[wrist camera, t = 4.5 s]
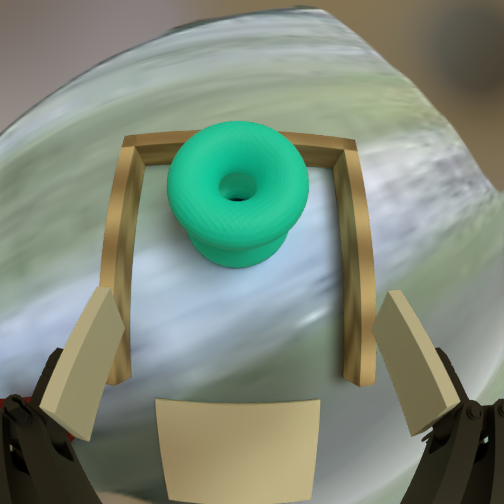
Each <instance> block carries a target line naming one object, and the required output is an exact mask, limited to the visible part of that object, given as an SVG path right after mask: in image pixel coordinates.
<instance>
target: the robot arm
mask: <svg viewBox="0 0 504 504" xmlns="http://www.w3.org/2000/svg"><path fill="white" fill-rule="evenodd" d="M124 330H125V326H124V324H123V321H122V319H121V316H120V313H119V311H118V308H117V305H116V302H115V299H114V297H113V294H112V291H111V288H107V287H97V288H96V290H95V291H94V293H93V295H92V296H91V298H90V300H89V302H88V303H87V305H86V307H85V309H84V311H83V312H82V314H81V316H80V318H79V320H78V322H77V324H76V326H75V327H74V329H73V331H72V333H71V335H70V337H69V339H68V341H67V343H66V345H65V347H64V349H61V348H57V349H56V350H55V351H54V352H53V353H52V354H51V355H50V356H49V358H48V361H47V363H46V365H45V367H44V369H43V371H42V375H41V376H40V378H39V380H38V383H37V385H36V388H35V390H34V392H33V395H32V397H31V400H30V402H29V404H28V403H27V402H26V401H25V400H24V399H23V398H22V397H21V396H20V395H17V394H13V395H10V396H8V397H7V398H6V399H5V401H4V402H3V406H2V409H1V408H0V504H102V502H101V501H100V499H99V498H98V496H97V494H96V492H95V491H94V489H93V487H92V486H91V484H90V482H89V480H88V478H87V476H86V474H85V473H84V471H83V469H82V467H81V465H80V463H79V460H78V458H77V456H76V454H75V452H74V450H73V447H72V445H71V443H70V440H69V439H68V437H67V433H68V432H69V433H70V434H72V435H73V436H74V437H76V438H79V439H82V440H85V441H88V442H89V441H90V437H91V433H92V429H93V425H94V422H95V418H96V414H97V411H98V407H99V404H100V400H101V397H102V394H103V390H104V387H105V384H106V381H107V378H108V375H109V372H110V369H111V366H112V363H113V360H114V357H115V354H116V351H117V349H118V346H119V343H120V340H121V338H122V335H123V332H124ZM371 331H372V333H373V335H374V338H375V340H376V342H377V345H378V347H379V349H380V352H381V354H382V357H383V359H384V362H385V364H386V367H387V369H388V372H389V374H390V377H391V380H392V382H393V385H394V387H395V390H396V393H397V396H398V398H399V401H400V404H401V407H402V410H403V413H404V416H405V419H406V422H407V425H408V428H409V431H410V434H411V437H412V436H415V435H417V434H420V433H423V432H425V431H426V430H428V429H429V428H430V427H431V426H432V427H433V430H432V431H431V432H430V433H429V434H427V435H426V436H425V437H423V439H422V442H423V441H425V440H426V439H428V438H429V439H428V441H427V442H426V443H427V445H426V447H425V450H424V453H423V455H422V458H421V460H420V463H419V465H418V467H417V470H416V472H415V474H414V477H413V479H412V481H411V483H410V485H409V487H408V489H407V491H406V493H405V495H404V497H403V499H402V501H401V503H400V504H504V399H498V400H497V401H496V402H495V403H494V404H493V405H486V406H481V405H480V404H479V403H478V402H476V401H474V400H469V398H468V397H467V395H466V393H465V390H464V388H463V386H462V384H461V382H460V380H459V378H458V376H457V374H456V373H455V370H454V368H453V366H451V362H450V360H449V358H448V356H447V355H446V354H445V353H444V352H443V351H442V350H441V349H440V348H434V346H433V344H432V343H431V341H430V339H429V337H428V335H427V334H426V332H425V330H424V328H423V327H422V325H421V323H420V321H419V320H418V318H417V316H416V315H415V313H414V311H413V310H412V308H411V306H410V305H409V303H408V301H407V300H406V298H405V297H404V295H403V294H402V292H401V290H391V291H388V292H387V294H386V297H385V299H384V301H383V304H382V306H381V308H380V311H379V313H378V315H377V317H376V320H375V322H374V324H373V326H372V328H371ZM487 436H488V442H487V443H484V439H485V438H486V437H487ZM10 445H11V446H12V450H11V449H10Z"/></svg>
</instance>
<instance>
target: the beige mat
mask: <svg viewBox="0 0 504 504" xmlns="http://www.w3.org/2000/svg"><path fill="white" fill-rule="evenodd" d="M155 405H156V416H157V426H158V435H159V443H160V451H161V458H162V464H163V470H164V476H165V482H166V487H167V492H168V497H169V500H175V501H182V502H191V503H201V504H276V503H287V502H296V501H303V500H310V499H311V494H312V487H313V479H314V471H315V462H316V452H317V442H318V430H319V416H320V399H311V400H301V401H288V402H270V403H210V402H193V401H180V400H170V399H161V398H156V399H155Z"/></svg>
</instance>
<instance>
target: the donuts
mask: <svg viewBox="0 0 504 504" xmlns="http://www.w3.org/2000/svg"><path fill="white" fill-rule="evenodd" d="M308 192H309V178H308V172H307V168H306V165H305V163H304V161H303V159H302V157H301V155H300V153H299V152H298V150H297V149H296V148H295V146H294V145H293V144H292V143H291V142H290V141H289V140H288V139H287V138H286V137H284V136H283V135H282V134H280V133H279V132H277V131H275V130H273V129H272V128H269V127H267V126H264V125H261V124H258V123H254V122H247V121H229V122H223V123H219V124H215V125H212V126H209V127H207V128H205V129H203V130H201V131H199V132H198V133H196V134H195V135H193V136H192V137H191V138H190V139H188V140H187V141H186V142H185V143H184V144H183V146H182V147H181V148H180V149H179V151H178V152H177V154H176V155H175V157H174V159H173V161H172V163H171V166H170V169H169V172H168V178H167V194H168V200H169V203H170V206H171V209H172V211H173V213H174V215H175V217H176V218H177V220H178V221H179V223H180V224H181V225H182V227H183V228H184V229H185V230H186V231H187V234H188V236H189V239H190V241H191V242H192V244H193V245H194V247H195V248H196V249H197V250H198V251H199V252H200V253H201V254H202V255H203V256H204V257H205V258H207V259H208V260H210V261H212V262H214V263H216V264H219V265H222V266H226V267H233V268H242V267H249V266H253V265H256V264H259V263H261V262H263V261H265V260H266V259H268V258H269V257H271V256H272V255H273V254H274V253H275V252H276V251H277V250H278V249H279V248H280V247H281V245H282V244H283V242H284V240H285V239H286V236H287V234H288V231H289V230H290V229H291V228H292V227H293V226H294V225H295V223H296V222H297V221H298V219H299V218H300V216H301V214H302V212H303V210H304V208H305V205H306V202H307V199H308ZM235 198H240V199H244V200H245V201H231V199H235Z"/></svg>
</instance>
